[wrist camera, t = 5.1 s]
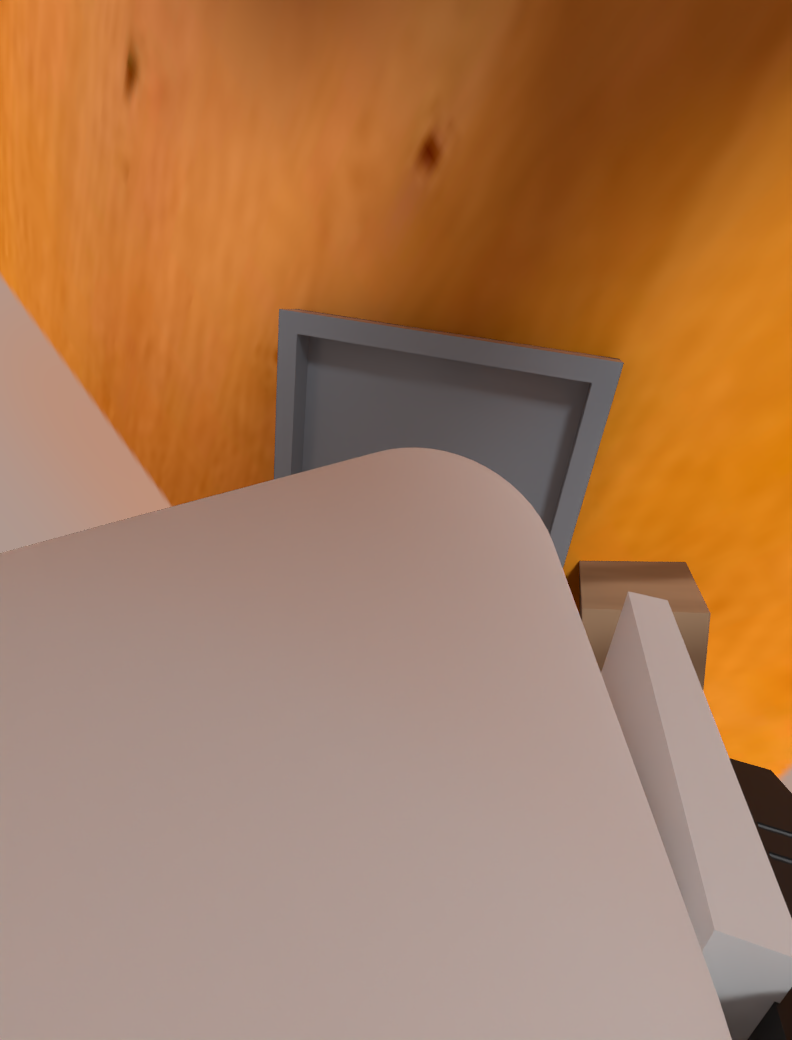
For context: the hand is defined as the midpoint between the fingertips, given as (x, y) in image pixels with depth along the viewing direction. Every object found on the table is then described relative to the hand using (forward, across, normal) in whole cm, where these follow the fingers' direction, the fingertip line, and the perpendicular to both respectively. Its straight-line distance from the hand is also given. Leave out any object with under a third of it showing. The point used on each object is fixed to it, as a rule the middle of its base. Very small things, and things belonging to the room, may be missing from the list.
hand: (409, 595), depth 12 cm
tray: (+16, -3, -3) cm, 17 cm away
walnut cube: (+16, +9, -7) cm, 20 cm away
